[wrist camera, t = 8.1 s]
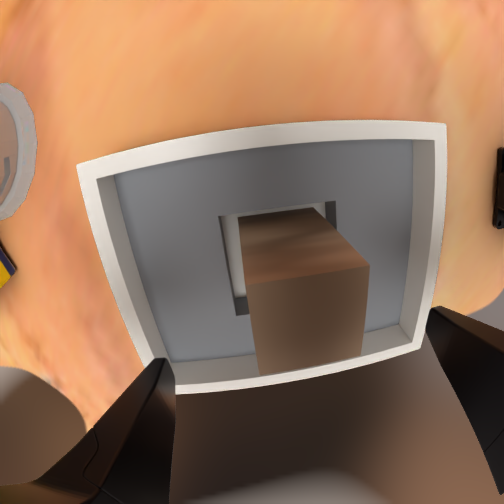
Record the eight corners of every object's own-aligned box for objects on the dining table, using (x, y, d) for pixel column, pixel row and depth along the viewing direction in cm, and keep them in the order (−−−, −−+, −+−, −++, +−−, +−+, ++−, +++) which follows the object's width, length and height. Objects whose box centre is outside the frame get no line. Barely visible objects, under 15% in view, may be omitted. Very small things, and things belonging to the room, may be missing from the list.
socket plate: (394, 134, 14) (412, 136, 12) (387, 309, 19) (398, 324, 17) (125, 166, 14) (112, 171, 12) (174, 344, 18) (171, 363, 17)
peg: (313, 207, 15) (370, 265, 9) (316, 274, 17) (360, 355, 11) (237, 217, 15) (245, 285, 9) (247, 284, 17) (259, 375, 10)
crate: (397, 120, 14) (445, 123, 10) (390, 309, 20) (419, 348, 16) (114, 153, 14) (76, 164, 10) (168, 346, 19) (158, 394, 15)
